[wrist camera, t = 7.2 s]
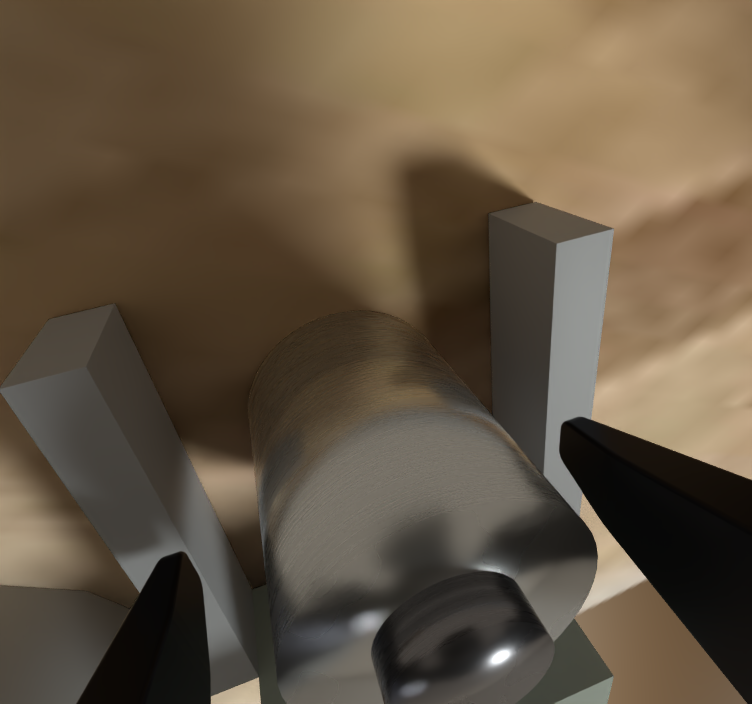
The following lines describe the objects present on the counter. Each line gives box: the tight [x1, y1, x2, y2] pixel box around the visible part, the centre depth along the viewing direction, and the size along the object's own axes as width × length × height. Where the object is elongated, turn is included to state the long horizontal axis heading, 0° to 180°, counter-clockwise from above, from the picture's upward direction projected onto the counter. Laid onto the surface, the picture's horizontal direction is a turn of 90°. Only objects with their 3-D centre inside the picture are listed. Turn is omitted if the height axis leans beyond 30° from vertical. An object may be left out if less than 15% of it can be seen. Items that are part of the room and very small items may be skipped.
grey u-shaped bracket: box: [0, 202, 614, 704], centre depth 11 cm, size 10×14×6 cm
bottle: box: [248, 311, 598, 704], centre depth 9 cm, size 5×5×7 cm
